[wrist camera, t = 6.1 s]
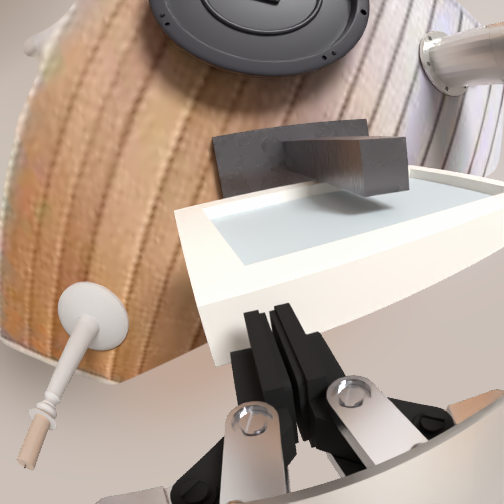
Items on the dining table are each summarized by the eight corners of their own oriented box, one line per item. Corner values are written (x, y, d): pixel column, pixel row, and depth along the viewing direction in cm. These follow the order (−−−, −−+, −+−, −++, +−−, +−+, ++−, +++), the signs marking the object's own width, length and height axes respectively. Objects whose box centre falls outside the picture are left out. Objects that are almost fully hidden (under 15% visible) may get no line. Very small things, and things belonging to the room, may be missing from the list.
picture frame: (410, 165, 36) (544, 191, 17) (411, 187, 37) (541, 223, 18) (173, 210, 29) (197, 307, 11) (180, 239, 30) (215, 367, 12)
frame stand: (361, 119, 40) (476, 114, 19) (368, 177, 44) (480, 212, 22) (212, 137, 39) (219, 126, 17) (224, 201, 42) (244, 264, 21)
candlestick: (112, 274, 43) (29, 431, 15) (139, 342, 48) (107, 505, 20) (48, 289, 42) (-49, 418, 14) (78, 351, 47) (22, 490, 19)
